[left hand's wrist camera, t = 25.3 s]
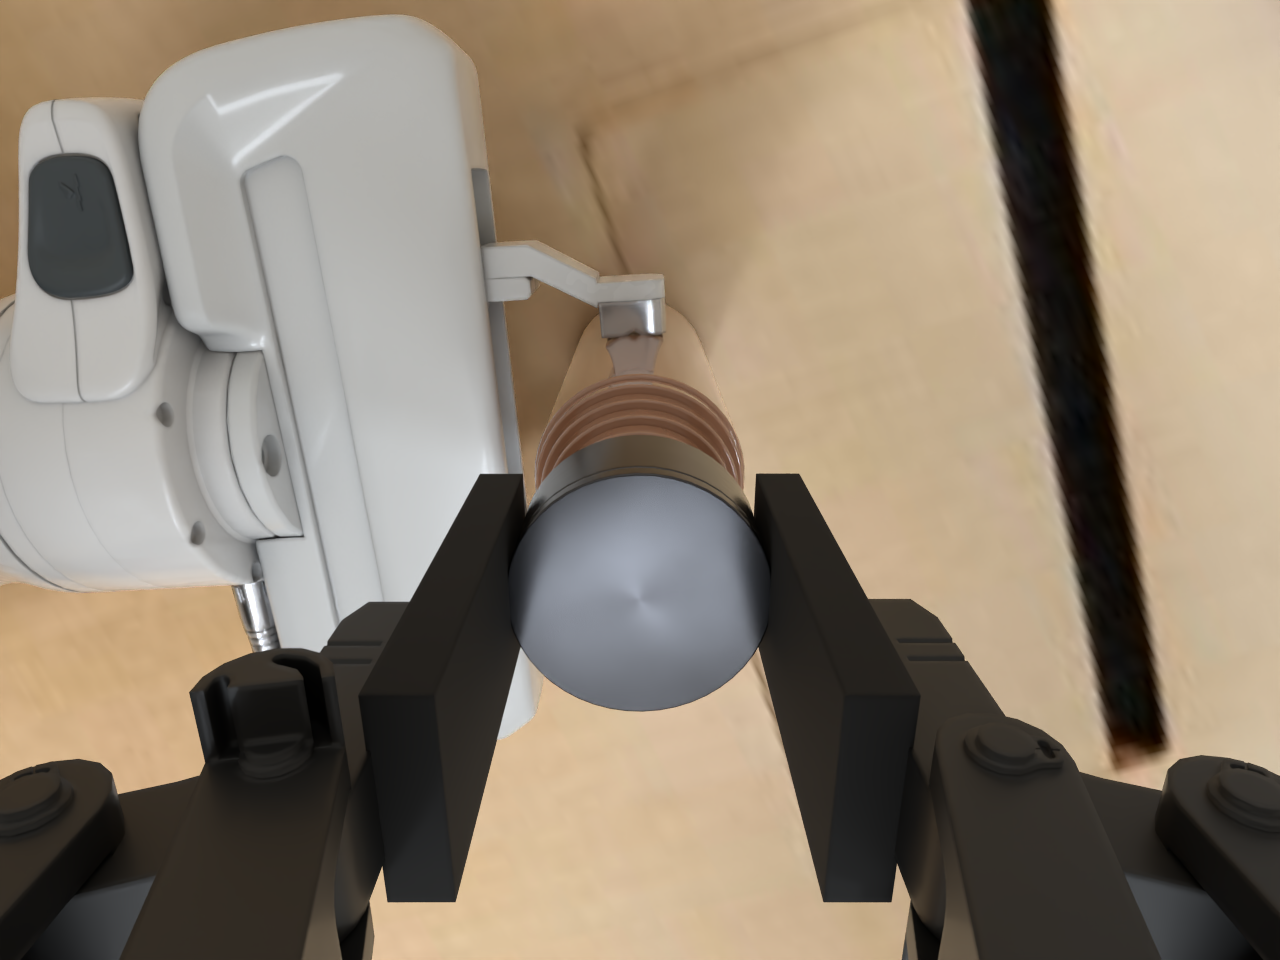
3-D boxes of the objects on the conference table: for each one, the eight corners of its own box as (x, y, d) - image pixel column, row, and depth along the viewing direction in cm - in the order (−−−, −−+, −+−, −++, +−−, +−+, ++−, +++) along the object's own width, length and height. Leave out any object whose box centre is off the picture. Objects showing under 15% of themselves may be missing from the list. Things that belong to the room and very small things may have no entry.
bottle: (549, 350, 29) (440, 551, 13) (653, 271, 28) (671, 384, 12) (627, 448, 30) (612, 740, 14) (728, 376, 29) (834, 602, 13)
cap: (478, 568, 15) (454, 625, 13) (611, 386, 13) (607, 418, 12) (663, 685, 15) (667, 753, 14) (804, 522, 14) (829, 573, 12)
